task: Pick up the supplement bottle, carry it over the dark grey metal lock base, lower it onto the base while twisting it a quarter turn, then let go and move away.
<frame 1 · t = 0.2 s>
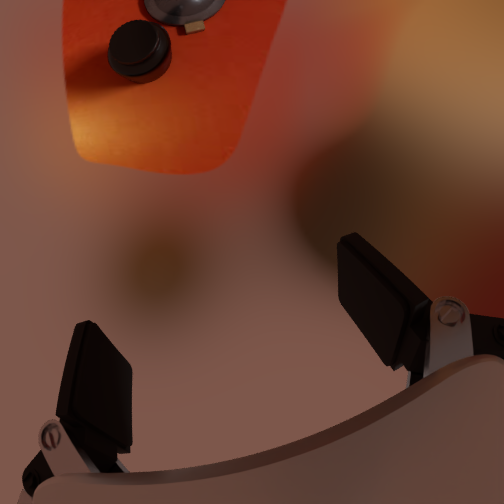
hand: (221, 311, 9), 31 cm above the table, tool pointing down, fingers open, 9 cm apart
supplement bottle: (147, 61, 27), on the table
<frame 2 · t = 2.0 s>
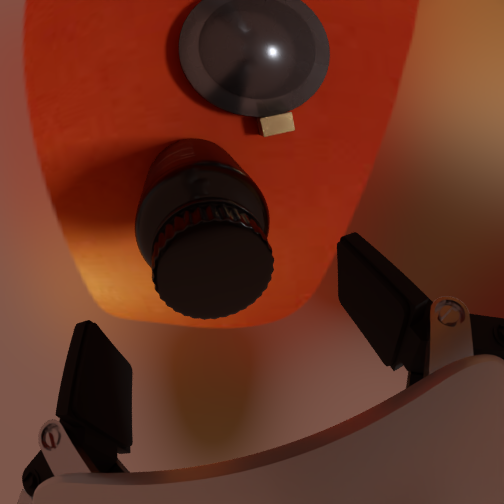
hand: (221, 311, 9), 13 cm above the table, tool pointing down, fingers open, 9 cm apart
lock base: (255, 47, 15), on the table
supplement bottle: (192, 180, 20), on the table
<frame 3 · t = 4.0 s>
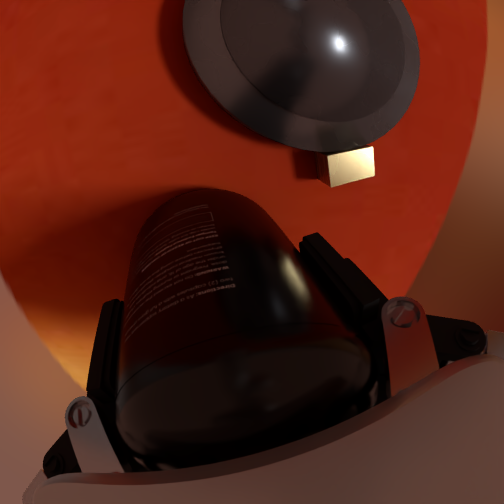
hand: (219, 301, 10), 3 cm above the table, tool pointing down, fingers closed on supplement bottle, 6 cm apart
lock base: (315, 32, 8), on the table
supplement bottle: (207, 254, 13), on the table, touching gripper
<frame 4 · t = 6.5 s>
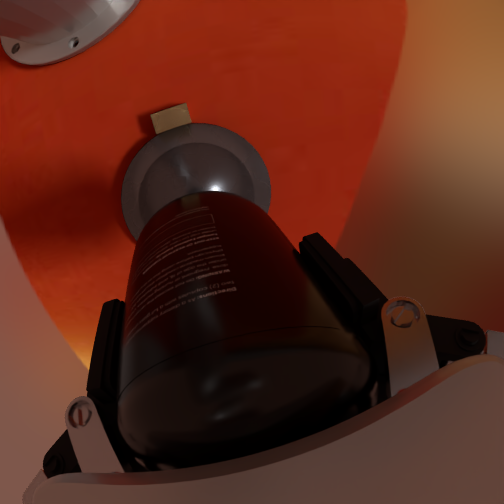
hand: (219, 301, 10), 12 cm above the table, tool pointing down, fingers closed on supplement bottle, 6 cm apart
lock base: (195, 196, 20), on the table
supplement bottle: (208, 255, 13), point 8 cm above the table, touching gripper
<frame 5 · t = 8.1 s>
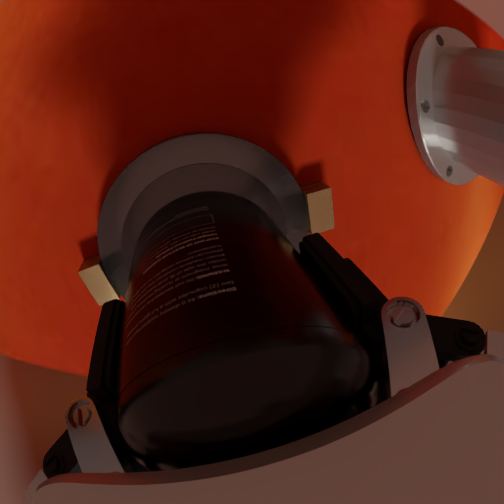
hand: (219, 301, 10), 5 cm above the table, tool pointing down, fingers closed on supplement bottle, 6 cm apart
lock base: (203, 238, 14), on the table
supplement bottle: (208, 255, 13), point 2 cm above the table, touching gripper
when the fingers open (5 cm above the table, at t = 9.2 s): supplement bottle stays where it is, resting on lock base.
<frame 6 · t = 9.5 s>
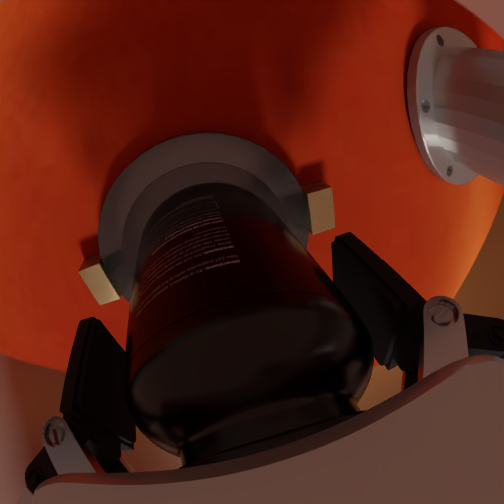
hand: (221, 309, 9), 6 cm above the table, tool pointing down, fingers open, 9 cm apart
lock base: (204, 237, 14), on the table
supplement bottle: (211, 244, 13), point 1 cm above the table, touching lock base
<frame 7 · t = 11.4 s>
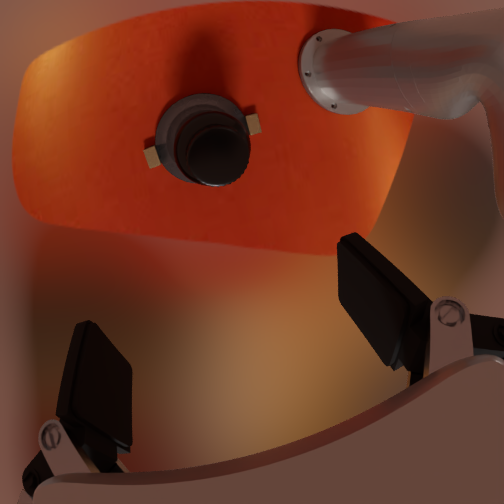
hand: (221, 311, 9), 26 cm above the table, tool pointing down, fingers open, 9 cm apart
lock base: (201, 138, 30), on the table
supplement bottle: (204, 138, 29), point 1 cm above the table, touching lock base
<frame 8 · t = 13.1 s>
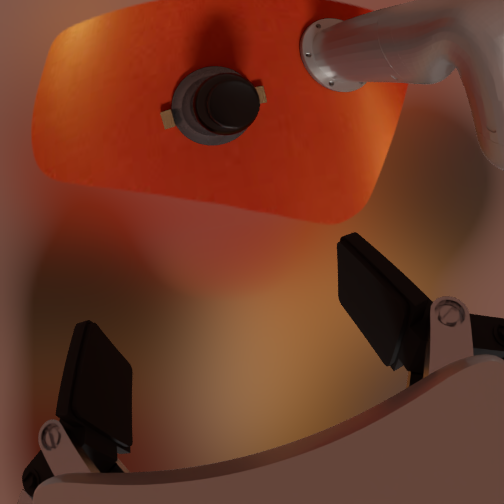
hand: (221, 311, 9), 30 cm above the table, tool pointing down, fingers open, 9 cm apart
lock base: (213, 105, 32), on the table
supplement bottle: (216, 104, 31), point 1 cm above the table, touching lock base
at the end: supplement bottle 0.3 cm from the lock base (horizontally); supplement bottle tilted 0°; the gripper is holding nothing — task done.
